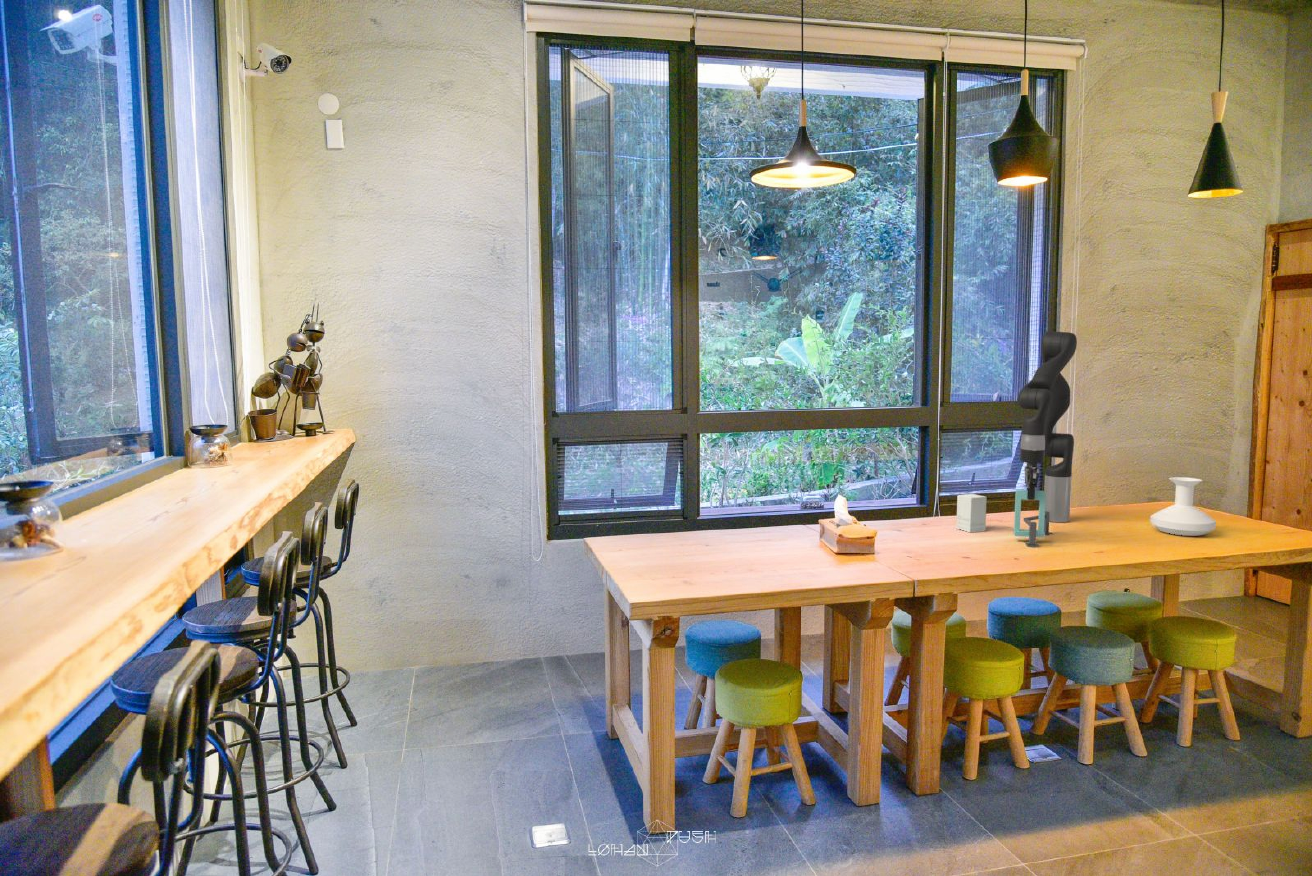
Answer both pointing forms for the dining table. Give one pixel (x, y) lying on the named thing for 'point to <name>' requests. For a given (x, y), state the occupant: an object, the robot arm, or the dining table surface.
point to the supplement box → (971, 513)
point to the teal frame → (1018, 497)
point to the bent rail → (1033, 529)
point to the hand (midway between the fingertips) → (1030, 498)
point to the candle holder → (1183, 512)
